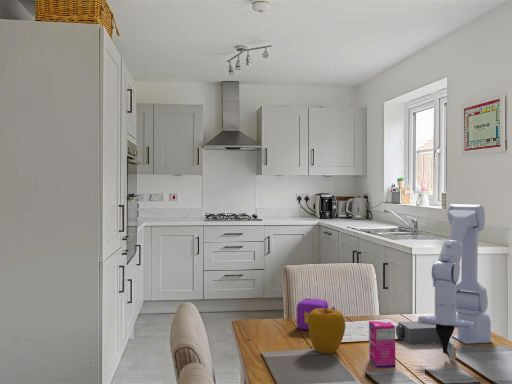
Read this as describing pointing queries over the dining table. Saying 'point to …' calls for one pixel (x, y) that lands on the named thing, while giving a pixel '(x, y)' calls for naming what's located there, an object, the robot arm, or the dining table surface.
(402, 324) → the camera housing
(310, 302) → the toy camera
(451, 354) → the side door
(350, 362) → the dining table surface
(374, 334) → the supplement box
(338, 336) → the apple
